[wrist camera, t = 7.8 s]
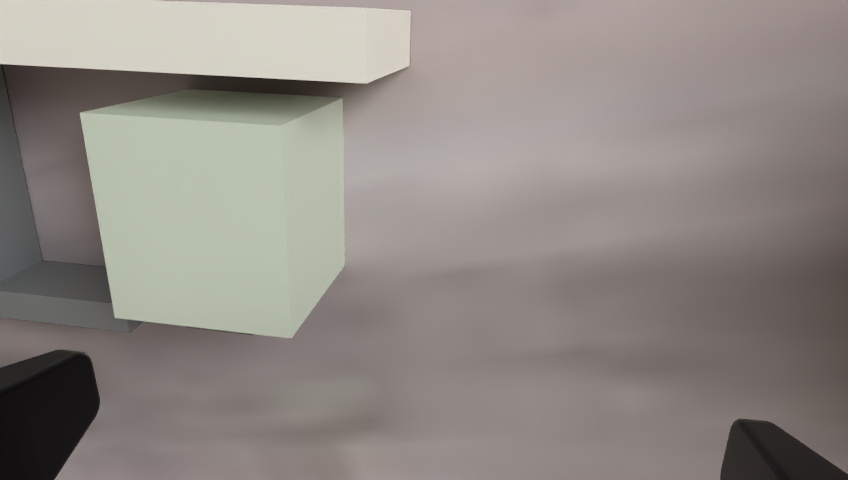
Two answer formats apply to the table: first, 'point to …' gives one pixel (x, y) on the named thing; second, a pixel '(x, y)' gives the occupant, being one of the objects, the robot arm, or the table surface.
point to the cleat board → (166, 53)
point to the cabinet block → (219, 207)
